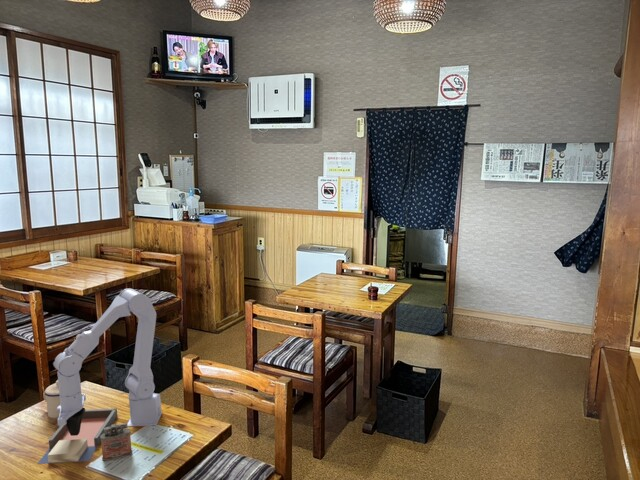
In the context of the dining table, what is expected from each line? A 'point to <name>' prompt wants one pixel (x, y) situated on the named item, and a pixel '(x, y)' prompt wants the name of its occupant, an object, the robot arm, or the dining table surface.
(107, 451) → the lighter
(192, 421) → the dining table surface
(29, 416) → the dining table surface
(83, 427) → the grey and pink tray
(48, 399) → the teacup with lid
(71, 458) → the slab
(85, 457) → the indigo mat
